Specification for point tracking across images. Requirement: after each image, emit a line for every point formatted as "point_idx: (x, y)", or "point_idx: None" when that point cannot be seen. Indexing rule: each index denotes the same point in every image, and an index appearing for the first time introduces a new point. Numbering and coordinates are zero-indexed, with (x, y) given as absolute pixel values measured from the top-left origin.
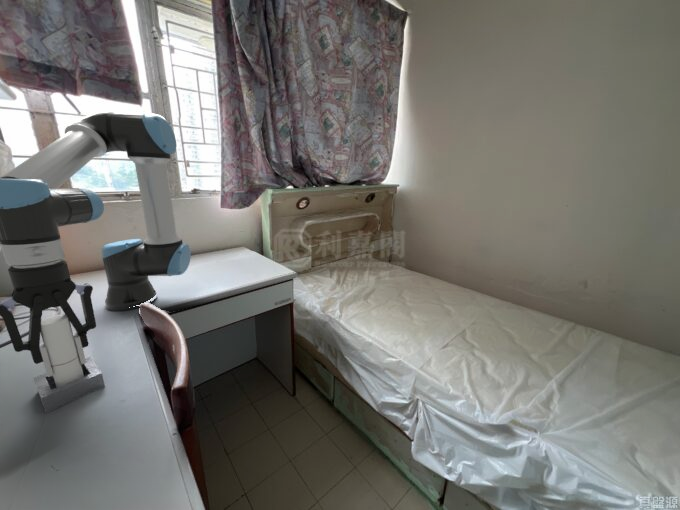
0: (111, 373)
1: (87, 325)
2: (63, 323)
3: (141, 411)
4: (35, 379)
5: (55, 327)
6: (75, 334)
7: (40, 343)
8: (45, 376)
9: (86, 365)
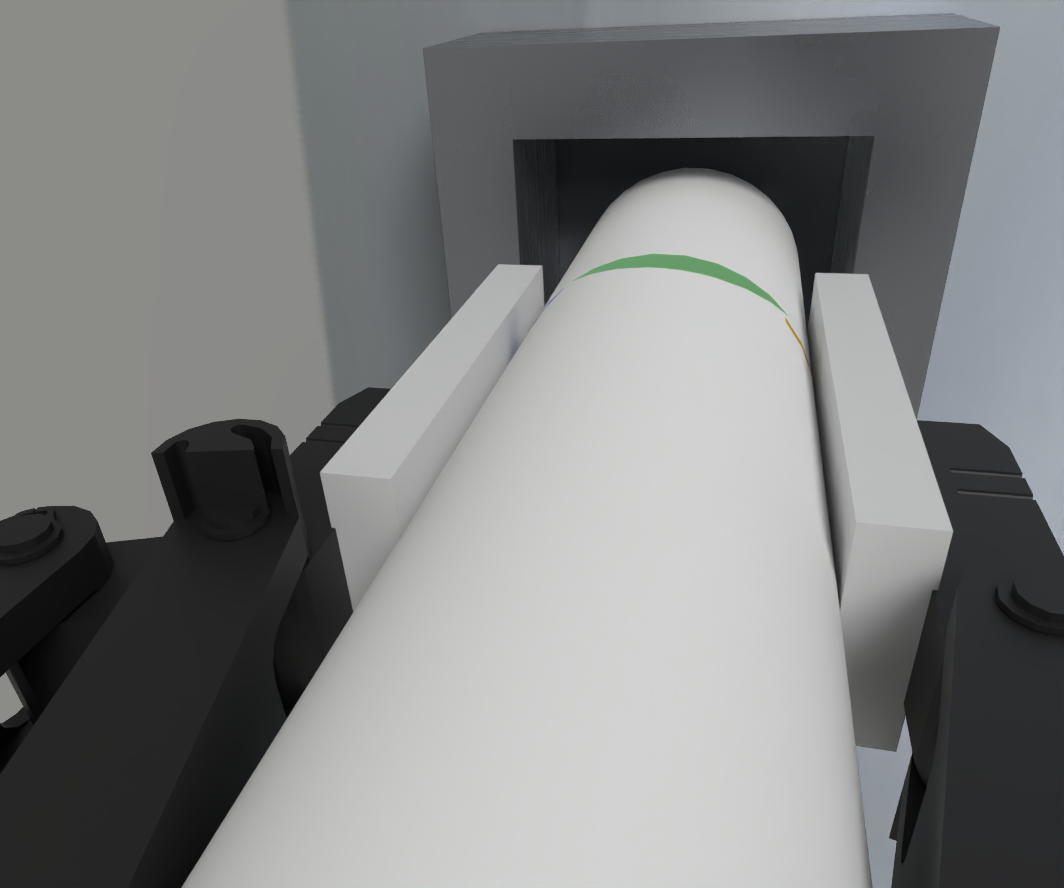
0: (1018, 279)
1: None
2: None
3: (878, 823)
4: (437, 105)
5: None
6: (890, 616)
7: (356, 489)
8: (514, 126)
9: (868, 248)
